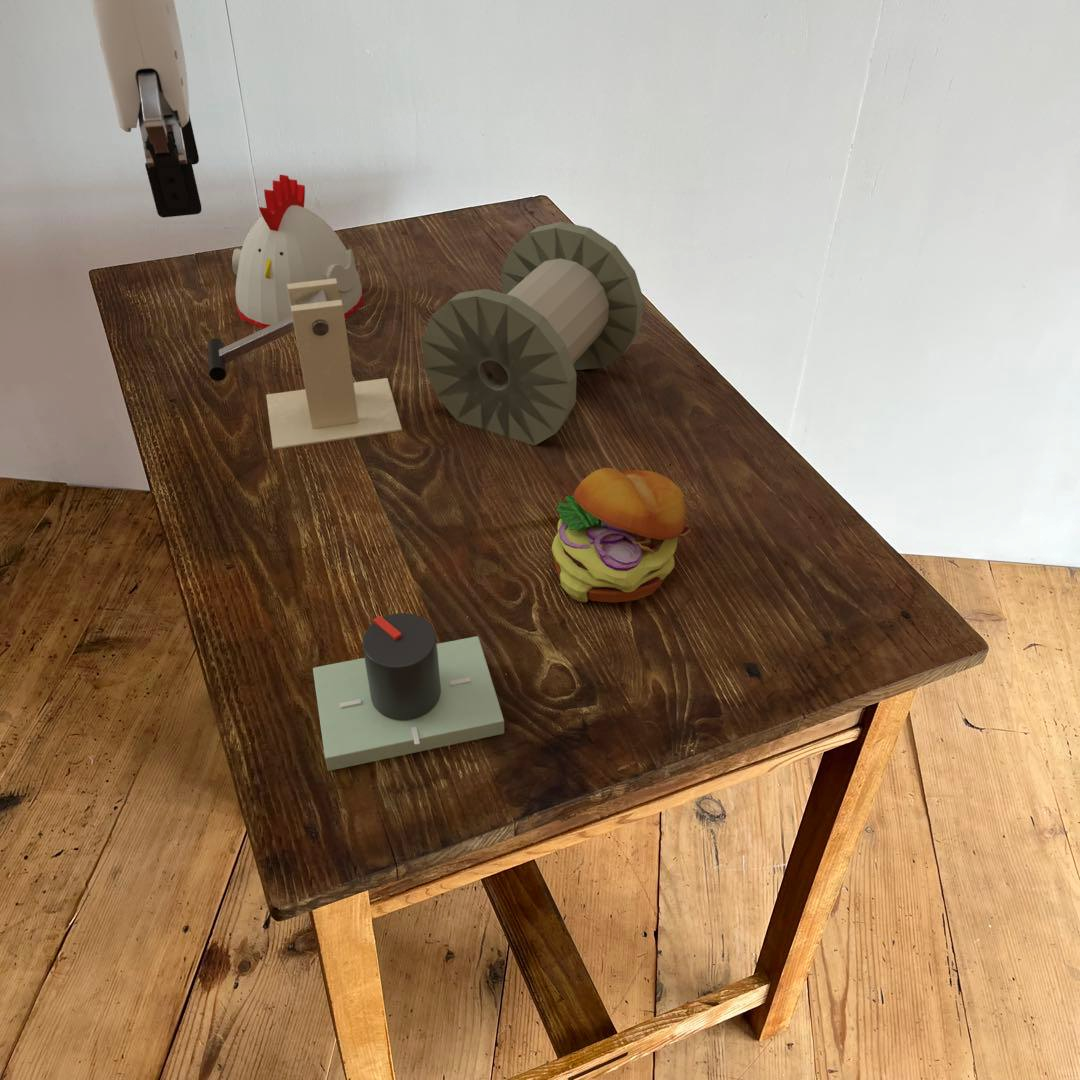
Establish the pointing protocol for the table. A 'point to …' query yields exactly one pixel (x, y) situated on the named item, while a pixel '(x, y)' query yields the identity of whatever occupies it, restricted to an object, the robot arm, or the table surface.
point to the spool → (534, 333)
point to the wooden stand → (327, 380)
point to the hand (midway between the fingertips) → (180, 188)
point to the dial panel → (372, 736)
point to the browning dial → (402, 665)
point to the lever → (252, 340)
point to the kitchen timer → (289, 257)
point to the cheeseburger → (618, 535)
